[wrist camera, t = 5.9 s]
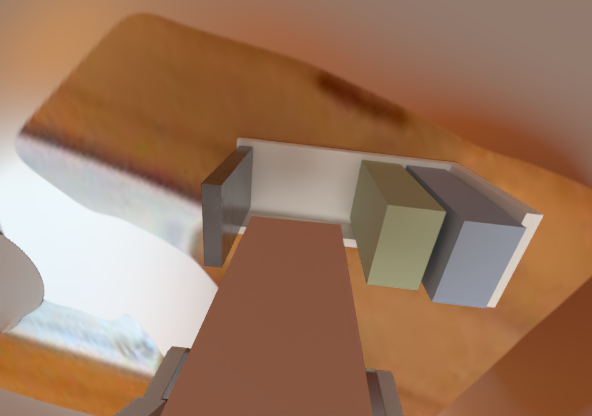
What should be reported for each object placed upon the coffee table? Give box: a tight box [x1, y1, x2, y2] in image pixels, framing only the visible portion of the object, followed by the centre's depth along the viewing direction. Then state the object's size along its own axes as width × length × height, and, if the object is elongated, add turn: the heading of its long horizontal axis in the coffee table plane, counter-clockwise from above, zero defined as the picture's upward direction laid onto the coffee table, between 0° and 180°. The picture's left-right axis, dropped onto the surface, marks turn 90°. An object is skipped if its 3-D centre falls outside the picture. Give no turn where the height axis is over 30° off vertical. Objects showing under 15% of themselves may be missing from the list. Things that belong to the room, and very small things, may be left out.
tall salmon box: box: [161, 216, 373, 416], centre depth 9 cm, size 4×6×11 cm, turn 175°
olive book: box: [350, 160, 446, 290], centre depth 23 cm, size 4×6×10 cm, turn 174°
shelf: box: [237, 137, 544, 308], centre depth 24 cm, size 20×8×11 cm, turn 84°
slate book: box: [406, 165, 526, 308], centre depth 22 cm, size 4×6×11 cm, turn 174°
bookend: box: [201, 145, 253, 268], centre depth 23 cm, size 1×6×10 cm, turn 174°
